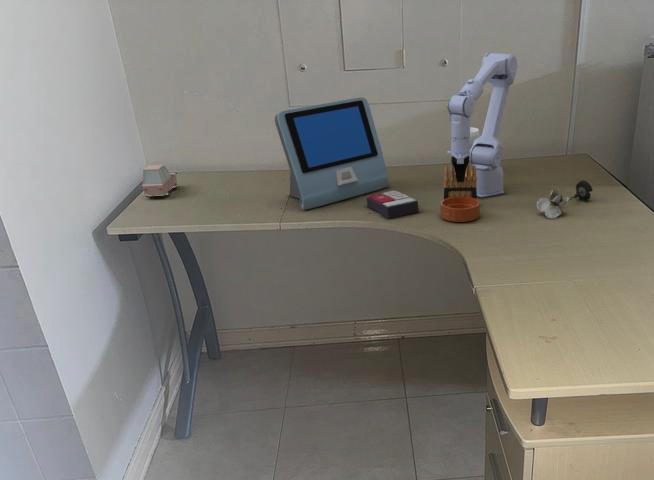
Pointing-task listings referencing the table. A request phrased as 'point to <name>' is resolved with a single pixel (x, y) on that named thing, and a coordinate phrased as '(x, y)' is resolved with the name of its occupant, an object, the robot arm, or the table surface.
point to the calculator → (392, 204)
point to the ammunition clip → (454, 188)
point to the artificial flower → (553, 206)
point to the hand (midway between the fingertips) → (460, 180)
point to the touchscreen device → (331, 152)
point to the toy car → (158, 180)
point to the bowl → (460, 209)
